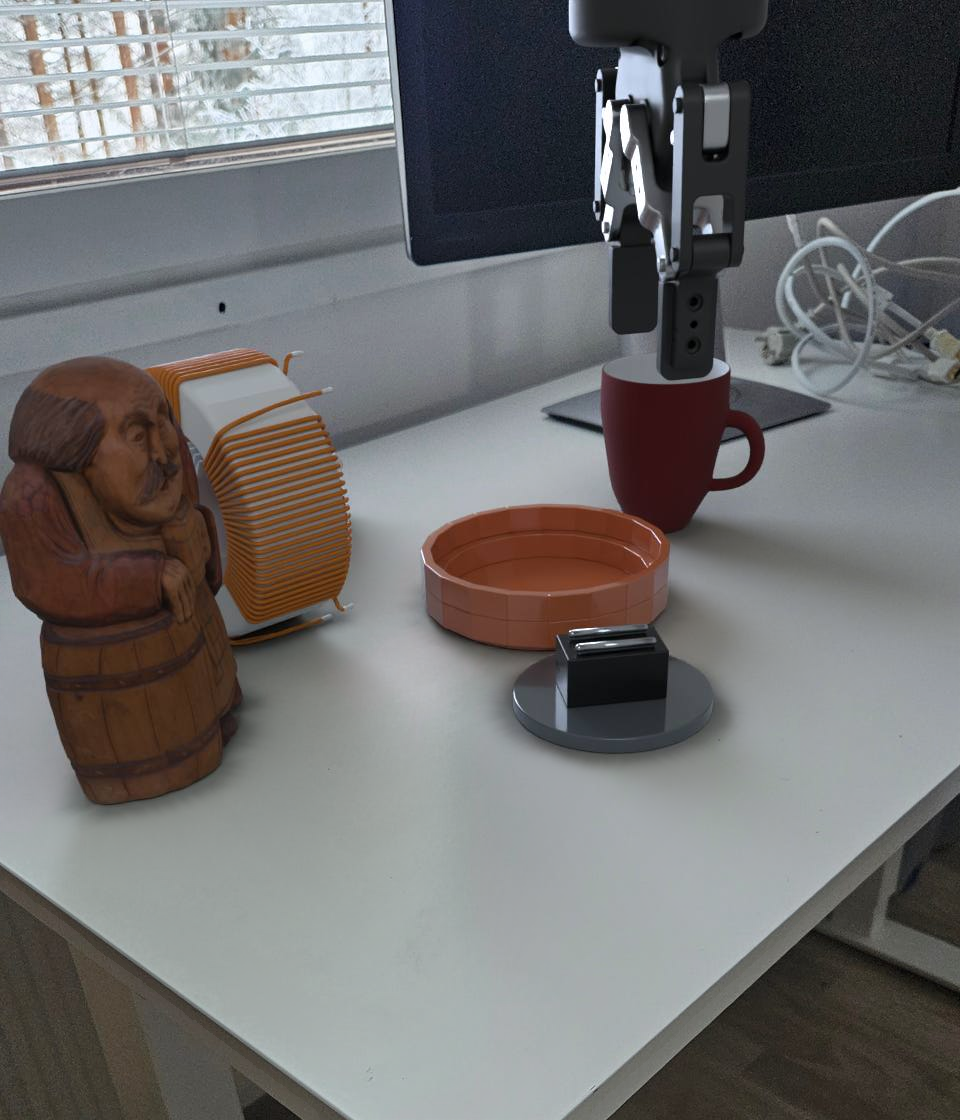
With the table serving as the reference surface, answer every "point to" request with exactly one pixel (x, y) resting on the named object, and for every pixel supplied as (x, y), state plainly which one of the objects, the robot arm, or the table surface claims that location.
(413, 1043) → the table surface
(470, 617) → the bowl
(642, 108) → the robot arm
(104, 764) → the wooden figurine
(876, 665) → the table surface
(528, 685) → the plate
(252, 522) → the coil
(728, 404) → the mug
